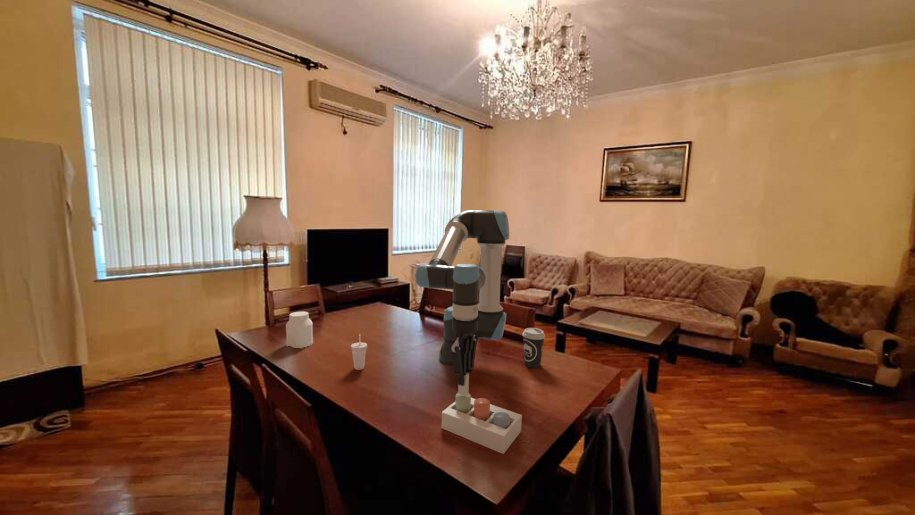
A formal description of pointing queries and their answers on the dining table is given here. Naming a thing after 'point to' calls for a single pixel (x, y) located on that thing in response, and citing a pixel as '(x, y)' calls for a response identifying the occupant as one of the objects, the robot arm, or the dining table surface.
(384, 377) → the dining table surface
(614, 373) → the dining table surface
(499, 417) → the button slate
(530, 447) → the dining table surface
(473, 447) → the dining table surface
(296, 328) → the jar
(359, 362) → the smoothie
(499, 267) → the robot arm
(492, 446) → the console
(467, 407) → the button sage
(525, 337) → the coffee cup
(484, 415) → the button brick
